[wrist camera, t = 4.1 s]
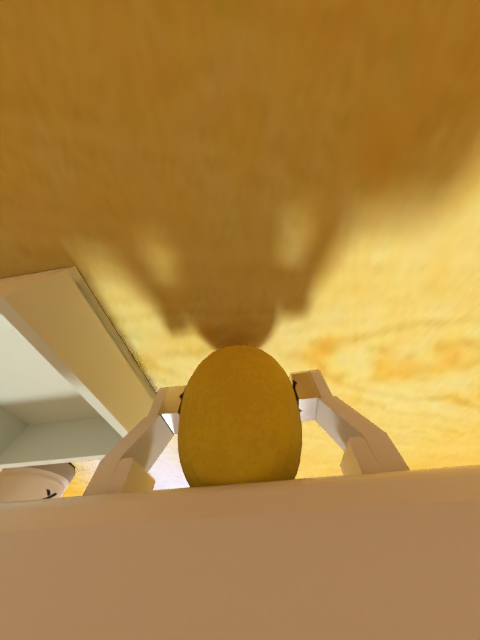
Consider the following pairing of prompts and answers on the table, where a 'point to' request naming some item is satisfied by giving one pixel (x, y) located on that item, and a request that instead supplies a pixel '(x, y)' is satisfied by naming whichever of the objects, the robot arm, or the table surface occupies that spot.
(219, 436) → the lemon
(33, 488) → the travel mug
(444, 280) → the table surface
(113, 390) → the bin
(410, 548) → the robot arm
